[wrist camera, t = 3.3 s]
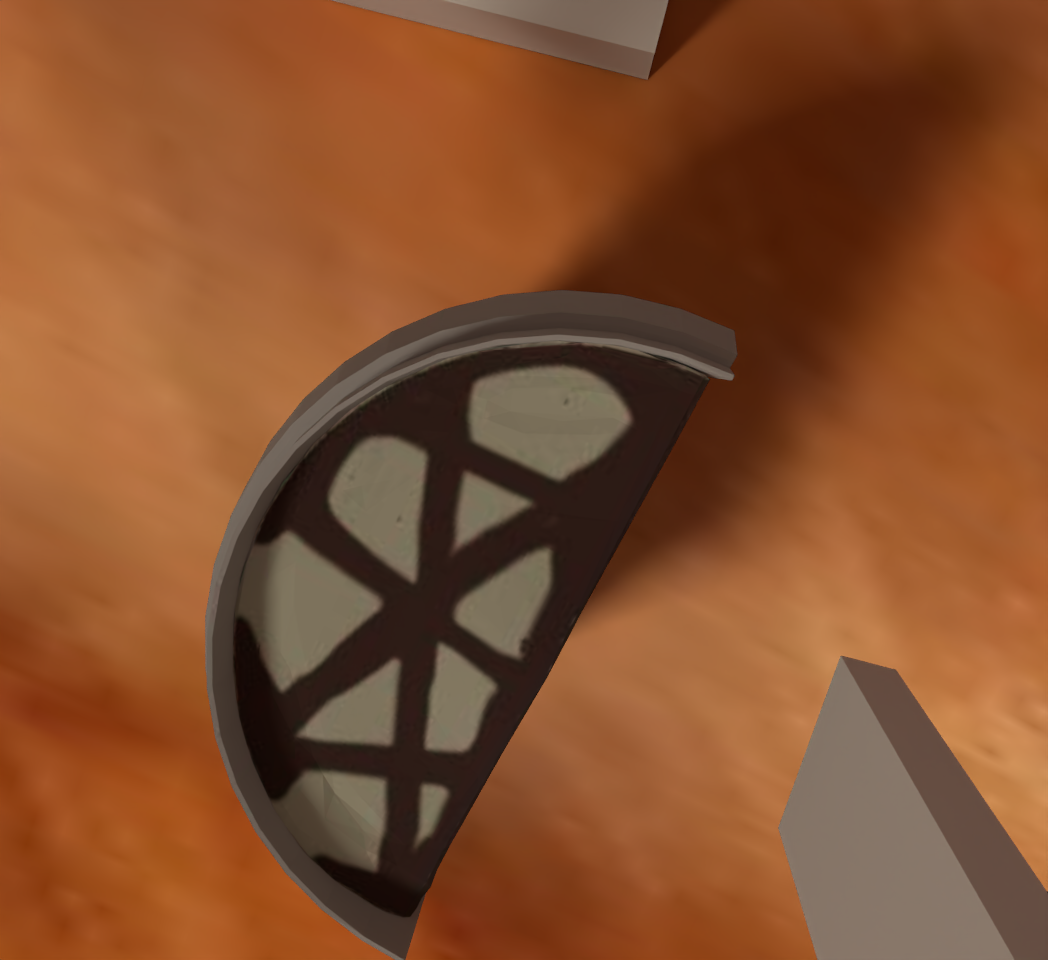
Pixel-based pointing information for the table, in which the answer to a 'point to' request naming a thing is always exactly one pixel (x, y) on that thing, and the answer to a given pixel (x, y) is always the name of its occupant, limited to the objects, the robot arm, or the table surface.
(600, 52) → the tray
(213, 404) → the table surface
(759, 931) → the table surface
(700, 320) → the grey brown half-round piece
